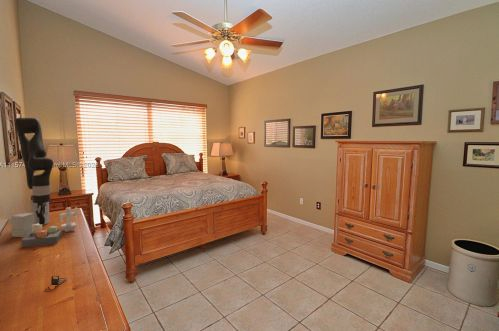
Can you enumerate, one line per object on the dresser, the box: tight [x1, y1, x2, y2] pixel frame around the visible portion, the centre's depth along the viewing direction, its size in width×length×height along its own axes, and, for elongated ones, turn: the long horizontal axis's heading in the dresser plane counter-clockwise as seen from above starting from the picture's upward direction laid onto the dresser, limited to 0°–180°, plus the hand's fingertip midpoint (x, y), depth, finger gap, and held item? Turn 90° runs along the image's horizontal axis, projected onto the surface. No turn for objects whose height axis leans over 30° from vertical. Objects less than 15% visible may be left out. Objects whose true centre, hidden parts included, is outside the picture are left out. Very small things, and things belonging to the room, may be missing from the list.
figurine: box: [58, 206, 79, 233], centre depth 154 cm, size 7×9×15 cm
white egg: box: [32, 223, 43, 235], centre depth 137 cm, size 4×4×6 cm
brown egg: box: [37, 229, 48, 238], centre depth 134 cm, size 4×4×6 cm
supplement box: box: [11, 212, 34, 238], centre depth 143 cm, size 7×7×13 cm
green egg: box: [47, 225, 58, 233], centre depth 141 cm, size 4×4×6 cm
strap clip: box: [50, 274, 68, 286], centre depth 96 cm, size 8×3×4 cm, turn 179°
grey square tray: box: [21, 228, 63, 248], centre depth 137 cm, size 14×15×4 cm
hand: (42, 223), depth 134 cm, fingers closed
